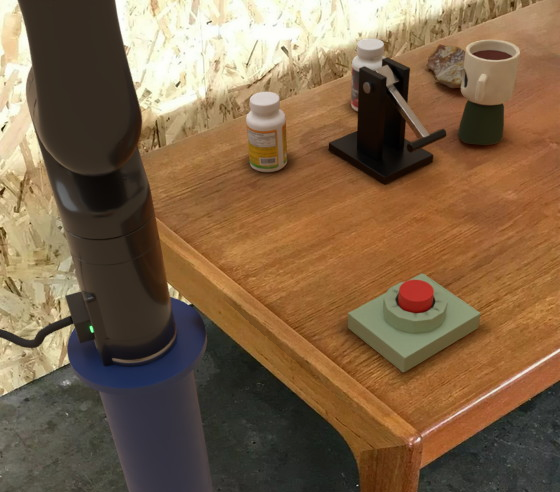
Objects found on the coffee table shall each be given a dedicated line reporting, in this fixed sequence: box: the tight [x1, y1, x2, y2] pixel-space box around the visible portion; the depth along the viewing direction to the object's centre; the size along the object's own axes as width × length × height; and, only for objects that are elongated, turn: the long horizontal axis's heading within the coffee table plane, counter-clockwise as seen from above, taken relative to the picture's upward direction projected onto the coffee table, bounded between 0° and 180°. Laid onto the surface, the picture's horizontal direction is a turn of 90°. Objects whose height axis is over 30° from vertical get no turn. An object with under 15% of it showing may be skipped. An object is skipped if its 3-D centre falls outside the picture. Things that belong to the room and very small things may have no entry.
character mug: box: [457, 39, 521, 146], centre depth 110 cm, size 11×7×13 cm, turn 156°
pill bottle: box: [350, 37, 387, 113], centre depth 119 cm, size 5×5×10 cm
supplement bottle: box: [245, 91, 288, 173], centre depth 109 cm, size 5×5×10 cm
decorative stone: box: [425, 44, 466, 89], centre depth 127 cm, size 10×4×15 cm
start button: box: [398, 279, 434, 313], centre depth 84 cm, size 4×4×2 cm
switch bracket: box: [328, 56, 434, 185], centre depth 108 cm, size 12×9×13 cm
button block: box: [347, 272, 482, 373], centre depth 85 cm, size 11×9×4 cm
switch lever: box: [375, 65, 447, 153], centre depth 104 cm, size 12×6×2 cm, turn 36°
